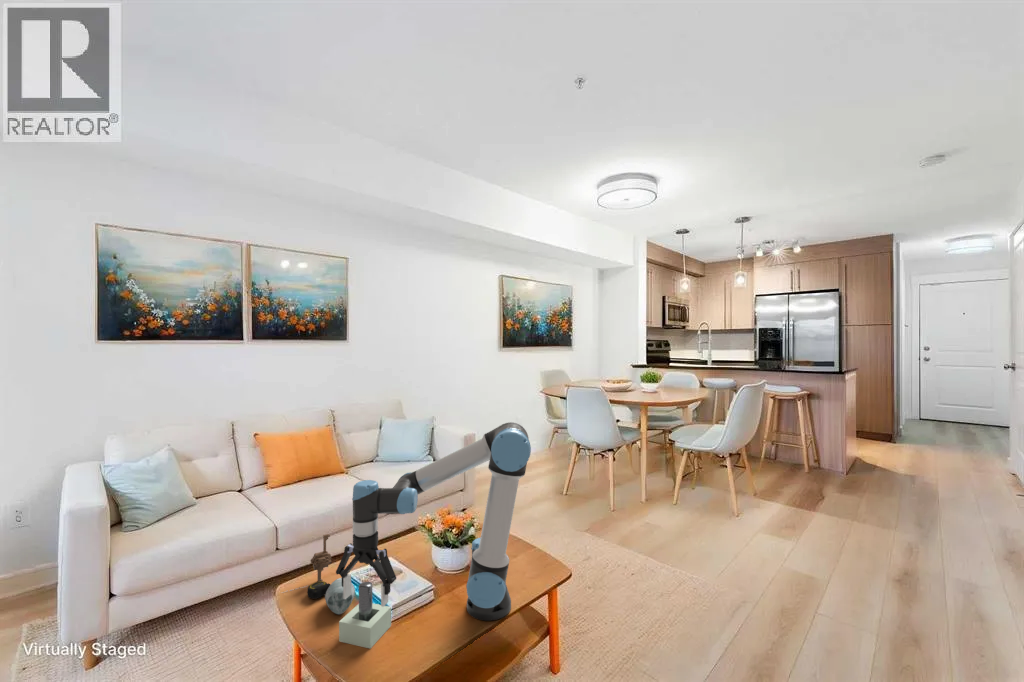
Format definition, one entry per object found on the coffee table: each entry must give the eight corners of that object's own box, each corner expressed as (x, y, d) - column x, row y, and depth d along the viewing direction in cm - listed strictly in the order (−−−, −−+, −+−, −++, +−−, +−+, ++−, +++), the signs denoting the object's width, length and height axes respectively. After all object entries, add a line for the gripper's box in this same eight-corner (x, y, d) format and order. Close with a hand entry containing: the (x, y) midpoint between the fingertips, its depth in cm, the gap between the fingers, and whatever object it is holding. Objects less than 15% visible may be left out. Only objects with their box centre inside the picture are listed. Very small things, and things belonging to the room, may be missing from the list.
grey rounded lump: (355, 612, 144) (355, 578, 148) (323, 618, 141) (324, 583, 144) (354, 605, 156) (354, 574, 160) (325, 611, 153) (326, 579, 156)
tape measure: (314, 602, 152) (313, 591, 153) (303, 597, 156) (303, 586, 157) (332, 593, 158) (331, 583, 158) (321, 589, 162) (321, 578, 162)
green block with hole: (391, 625, 141) (391, 606, 141) (370, 648, 130) (370, 628, 130) (361, 619, 144) (361, 601, 144) (339, 641, 134) (339, 621, 134)
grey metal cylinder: (375, 630, 139) (374, 582, 139) (367, 638, 135) (367, 589, 135) (364, 628, 140) (364, 580, 140) (356, 636, 136) (356, 587, 136)
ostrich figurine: (329, 577, 170) (329, 530, 170) (332, 585, 164) (332, 537, 164) (280, 590, 161) (279, 540, 162) (281, 599, 156) (281, 548, 156)
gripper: (407, 532, 137) (407, 600, 137) (339, 522, 145) (340, 587, 145) (394, 542, 130) (394, 614, 130) (323, 532, 137) (323, 600, 137)
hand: (365, 600), depth 137 cm, fingers open, 13 cm apart
